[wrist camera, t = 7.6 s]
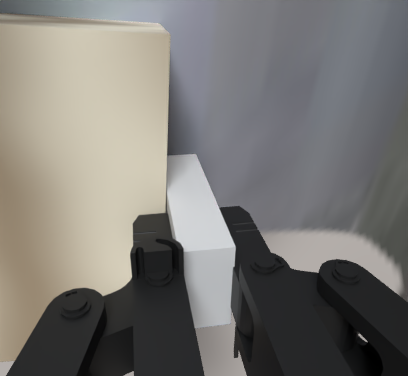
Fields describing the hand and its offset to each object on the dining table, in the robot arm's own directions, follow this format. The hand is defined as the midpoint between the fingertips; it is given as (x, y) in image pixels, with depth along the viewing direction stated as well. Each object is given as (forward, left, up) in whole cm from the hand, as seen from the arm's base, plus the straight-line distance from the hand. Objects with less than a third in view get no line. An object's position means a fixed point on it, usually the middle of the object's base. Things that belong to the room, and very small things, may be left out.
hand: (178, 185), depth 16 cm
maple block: (+5, 0, -2) cm, 6 cm away
